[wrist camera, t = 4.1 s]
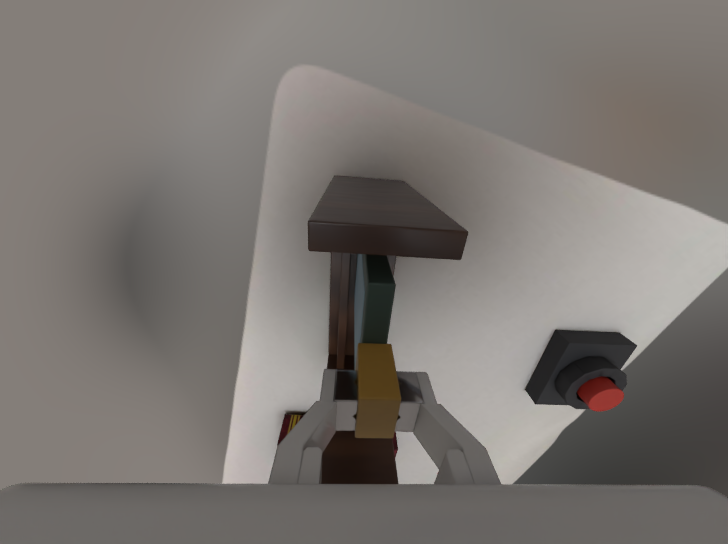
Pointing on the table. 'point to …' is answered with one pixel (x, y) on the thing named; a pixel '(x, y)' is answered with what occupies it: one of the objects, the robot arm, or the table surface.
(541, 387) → the switch block
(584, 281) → the table surface
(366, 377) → the window pane
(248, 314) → the table surface
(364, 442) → the window frame
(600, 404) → the red push button
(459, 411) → the table surface
